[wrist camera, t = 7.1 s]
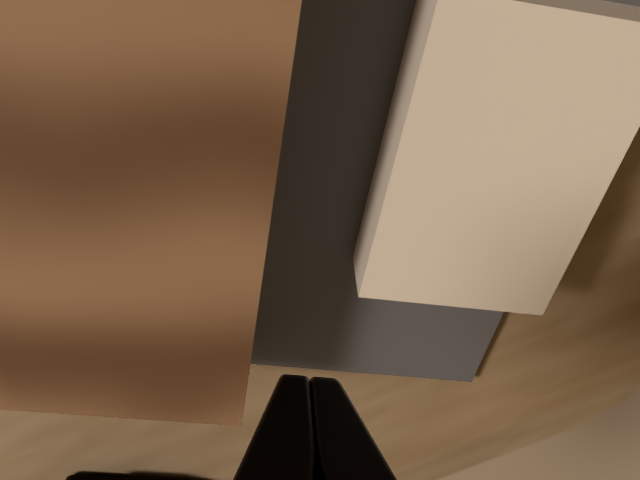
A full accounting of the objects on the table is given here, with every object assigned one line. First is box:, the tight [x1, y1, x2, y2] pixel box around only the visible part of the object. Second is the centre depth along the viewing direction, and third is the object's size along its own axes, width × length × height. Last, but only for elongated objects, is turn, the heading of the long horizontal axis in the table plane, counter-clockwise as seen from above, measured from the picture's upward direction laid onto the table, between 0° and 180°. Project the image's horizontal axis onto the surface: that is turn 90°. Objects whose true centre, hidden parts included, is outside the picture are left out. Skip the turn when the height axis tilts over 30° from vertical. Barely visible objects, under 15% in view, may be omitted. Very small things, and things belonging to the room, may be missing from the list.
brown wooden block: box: [0, 0, 302, 426], centre depth 15 cm, size 18×11×4 cm, turn 171°
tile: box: [353, 0, 640, 315], centre depth 17 cm, size 9×6×2 cm, turn 171°
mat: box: [250, 0, 640, 382], centre depth 17 cm, size 20×9×1 cm, turn 171°
